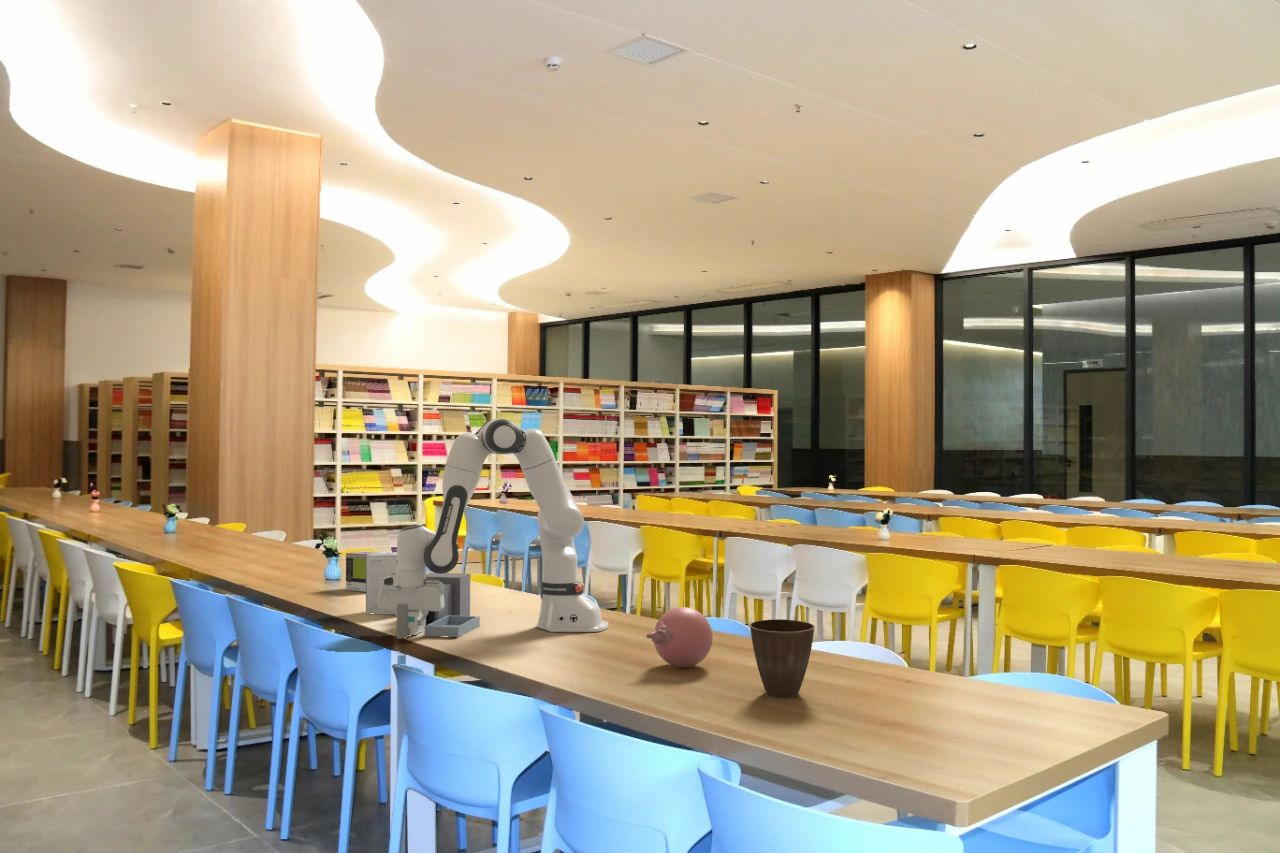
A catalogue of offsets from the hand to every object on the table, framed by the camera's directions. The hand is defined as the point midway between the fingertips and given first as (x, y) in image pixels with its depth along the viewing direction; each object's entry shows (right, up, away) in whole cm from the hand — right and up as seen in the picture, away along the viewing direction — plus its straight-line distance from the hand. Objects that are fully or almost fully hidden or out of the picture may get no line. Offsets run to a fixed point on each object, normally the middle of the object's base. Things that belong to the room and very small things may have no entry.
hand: (411, 624), depth 299 cm
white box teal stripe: (0, -3, -1) cm, 3 cm away
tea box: (-36, -4, +85) cm, 92 cm away
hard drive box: (-15, -3, +35) cm, 38 cm away
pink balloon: (+79, -3, -43) cm, 90 cm away
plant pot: (+102, -3, -68) cm, 123 cm away
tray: (+12, -3, +4) cm, 13 cm away
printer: (+4, -3, +21) cm, 21 cm away
